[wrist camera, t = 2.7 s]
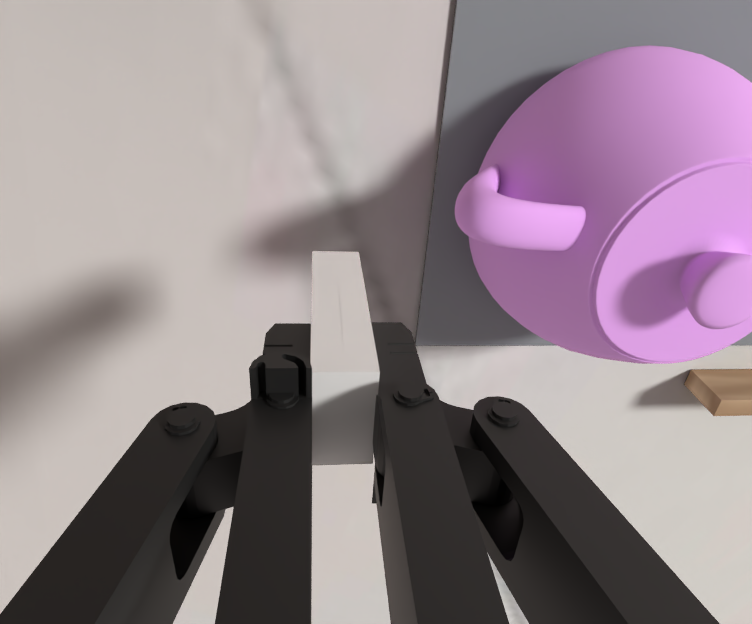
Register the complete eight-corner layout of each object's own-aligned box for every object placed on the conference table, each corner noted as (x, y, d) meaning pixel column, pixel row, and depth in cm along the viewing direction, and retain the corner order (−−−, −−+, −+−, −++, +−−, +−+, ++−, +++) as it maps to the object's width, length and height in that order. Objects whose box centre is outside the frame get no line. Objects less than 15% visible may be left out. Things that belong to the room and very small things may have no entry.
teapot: (696, 342, 32) (845, 478, 23) (382, 278, 28) (414, 413, 19) (851, 112, 26) (1143, 174, 17) (474, -17, 22) (589, -29, 12)
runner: (459, -24, 22) (460, -24, 21) (1151, 31, 25) (1157, 31, 25) (415, 343, 31) (415, 345, 30) (929, 343, 34) (932, 345, 34)
